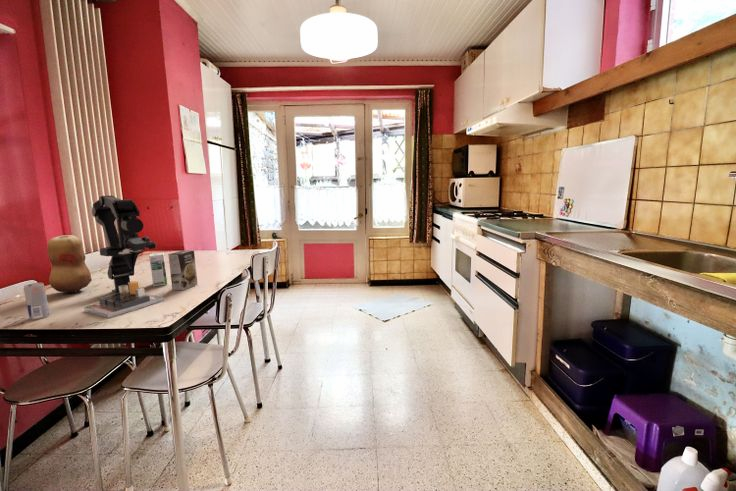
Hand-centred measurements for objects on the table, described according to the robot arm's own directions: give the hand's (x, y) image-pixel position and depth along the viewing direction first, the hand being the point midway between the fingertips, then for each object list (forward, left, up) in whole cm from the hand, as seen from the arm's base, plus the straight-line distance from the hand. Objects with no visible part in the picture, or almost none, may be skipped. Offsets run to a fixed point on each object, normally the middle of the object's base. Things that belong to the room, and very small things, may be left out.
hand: (132, 268), depth 143 cm
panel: (+7, -8, -12) cm, 16 cm away
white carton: (-9, -28, -12) cm, 32 cm away
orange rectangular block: (+7, -4, -8) cm, 11 cm away
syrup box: (-9, +16, -12) cm, 22 cm away
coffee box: (+6, +18, -12) cm, 23 cm away
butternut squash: (-33, -8, -12) cm, 36 cm away
